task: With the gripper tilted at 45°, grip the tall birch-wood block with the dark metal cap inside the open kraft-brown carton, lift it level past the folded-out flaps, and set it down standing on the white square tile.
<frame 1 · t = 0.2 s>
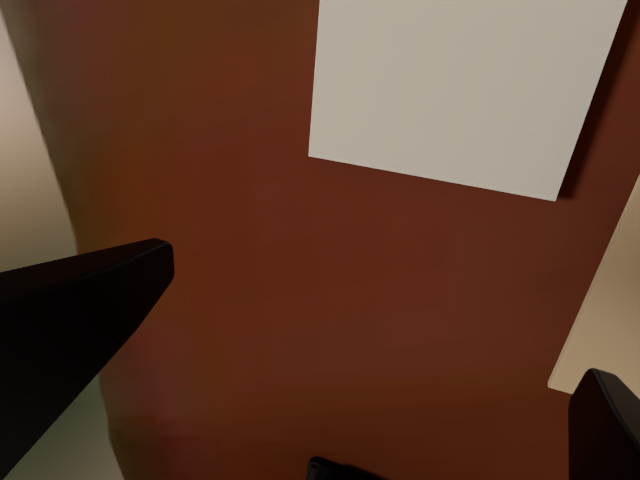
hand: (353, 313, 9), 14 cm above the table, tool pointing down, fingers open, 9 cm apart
white square tile: (451, 42, 19), on the table
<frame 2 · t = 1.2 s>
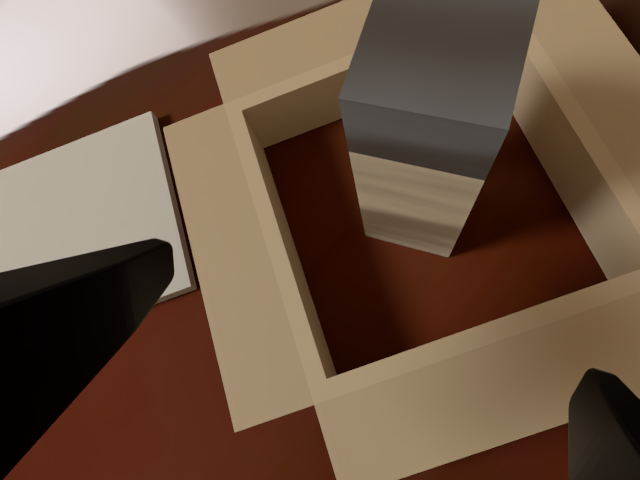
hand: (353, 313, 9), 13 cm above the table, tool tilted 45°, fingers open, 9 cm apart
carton: (416, 208, 24), on the table
capped block: (424, 153, 18), in the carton
white square tile: (85, 231, 27), on the table
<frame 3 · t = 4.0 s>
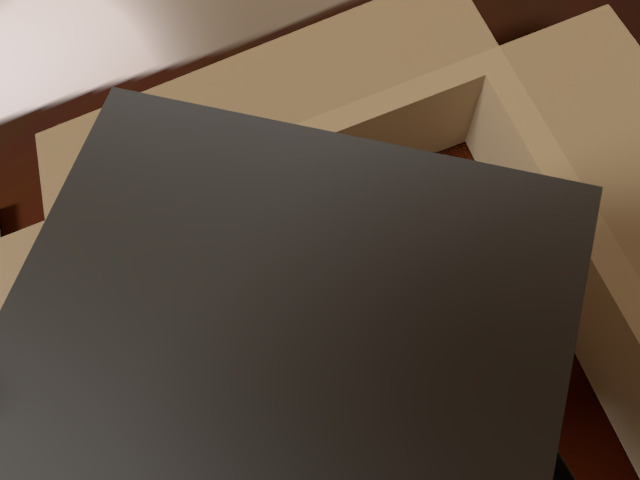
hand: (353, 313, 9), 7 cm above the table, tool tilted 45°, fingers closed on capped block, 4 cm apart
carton: (357, 377, 15), on the table
capped block: (335, 379, 9), in the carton, touching gripper
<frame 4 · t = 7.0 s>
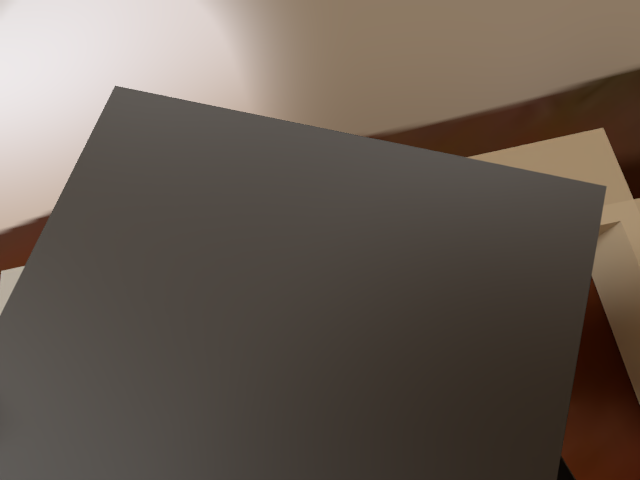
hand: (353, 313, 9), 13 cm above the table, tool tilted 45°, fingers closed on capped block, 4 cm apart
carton: (478, 418, 20), on the table
capped block: (336, 378, 9), point 13 cm above the table, touching gripper
white square tile: (102, 357, 24), on the table
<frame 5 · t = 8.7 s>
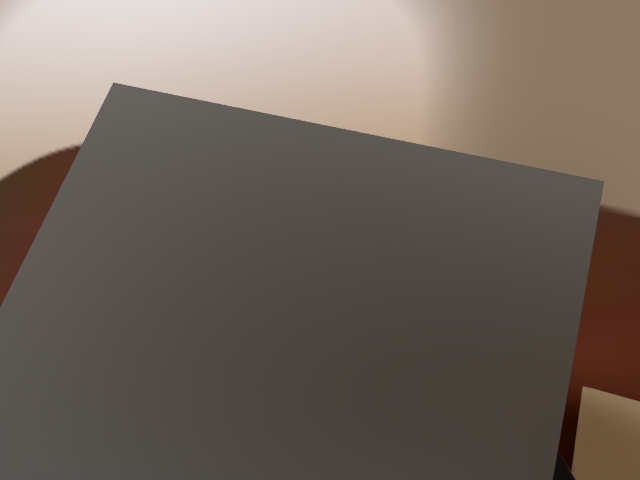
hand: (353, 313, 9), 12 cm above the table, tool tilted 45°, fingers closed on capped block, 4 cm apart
capped block: (336, 377, 9), point 12 cm above the table, touching gripper
when the fingers open (8 cm above the table, at t = 10.2 s): capped block stays where it is, resting on white square tile.
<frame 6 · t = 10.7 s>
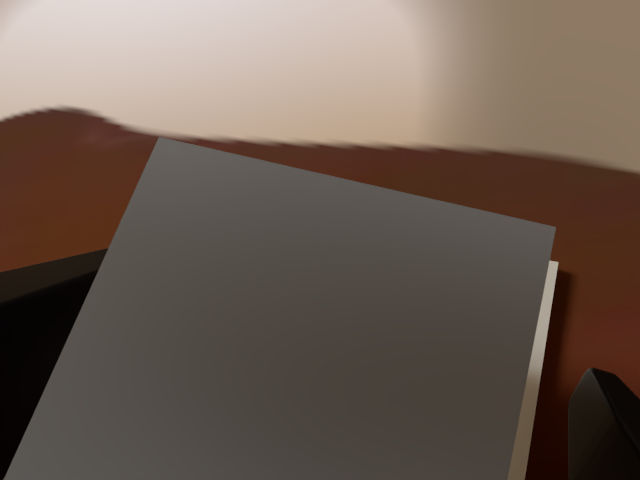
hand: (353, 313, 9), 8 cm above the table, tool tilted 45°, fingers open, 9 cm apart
capped block: (340, 378, 10), on the white square tile, point 7 cm above the table
white square tile: (361, 377, 17), on the table
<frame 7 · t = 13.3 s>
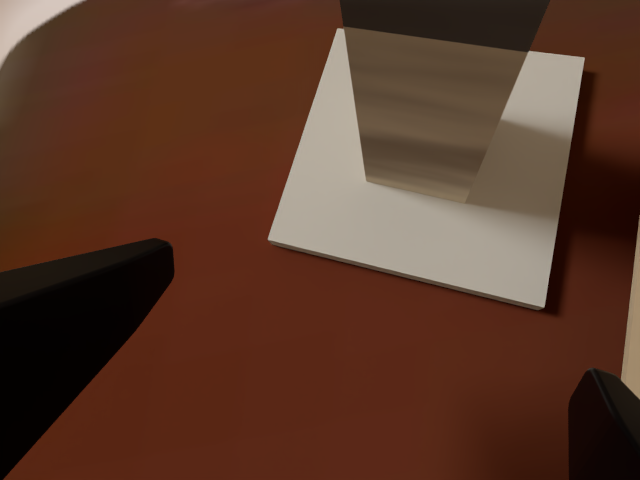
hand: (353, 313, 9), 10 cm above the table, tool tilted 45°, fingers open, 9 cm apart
capped block: (440, 55, 14), on the white square tile, point 7 cm above the table
white square tile: (425, 156, 21), on the table
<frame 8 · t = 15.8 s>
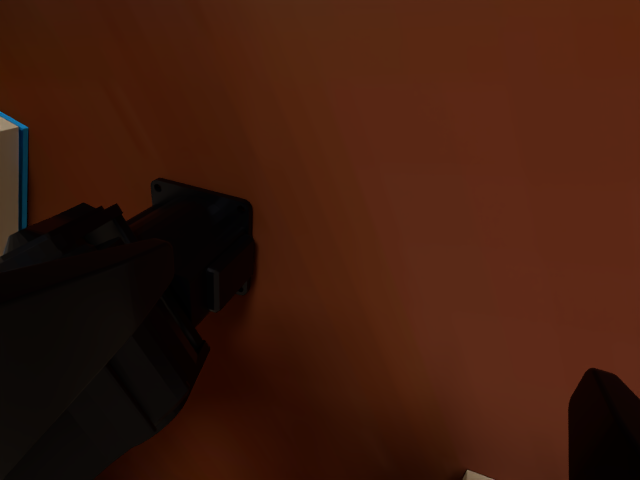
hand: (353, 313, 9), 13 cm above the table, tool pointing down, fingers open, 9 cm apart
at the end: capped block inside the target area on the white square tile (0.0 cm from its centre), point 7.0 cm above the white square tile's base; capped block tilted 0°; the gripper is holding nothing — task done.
